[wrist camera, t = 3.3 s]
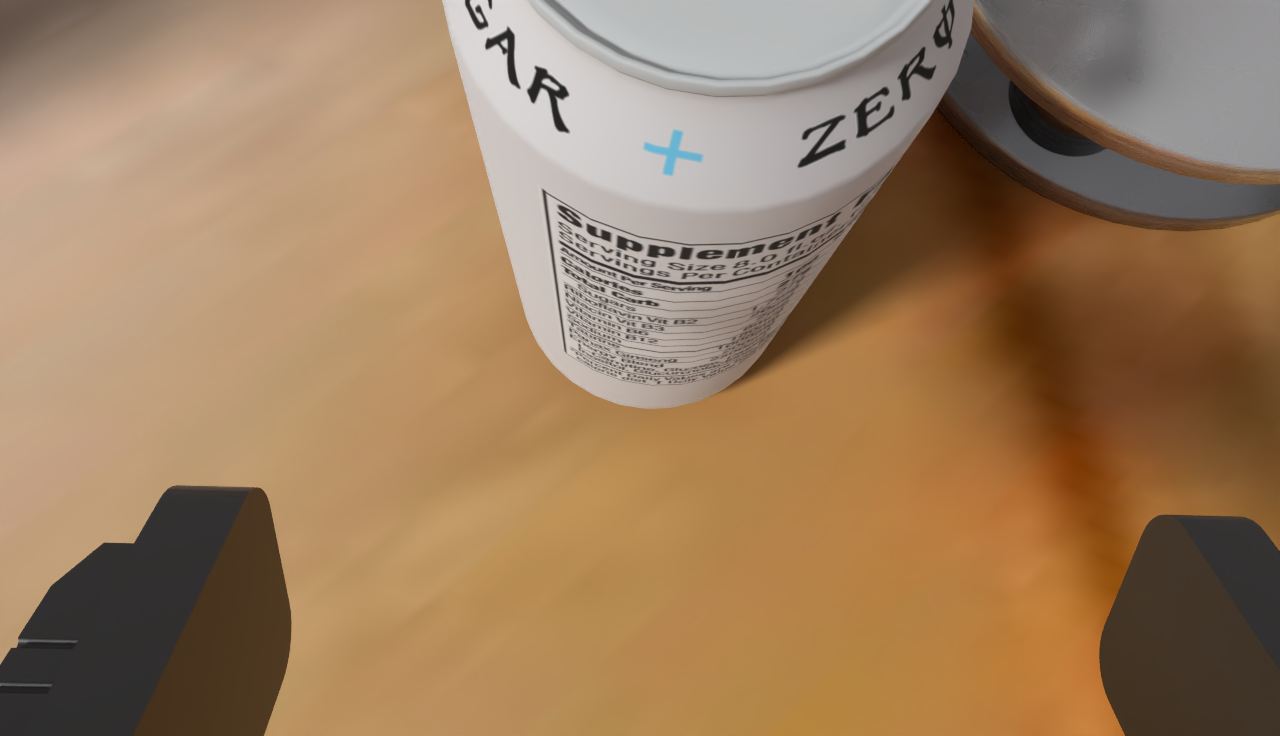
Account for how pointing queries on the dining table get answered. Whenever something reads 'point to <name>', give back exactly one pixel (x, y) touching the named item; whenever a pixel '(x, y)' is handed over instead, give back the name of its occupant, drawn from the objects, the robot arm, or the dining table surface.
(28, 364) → the dining table surface
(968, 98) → the stand
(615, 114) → the energy drink can
